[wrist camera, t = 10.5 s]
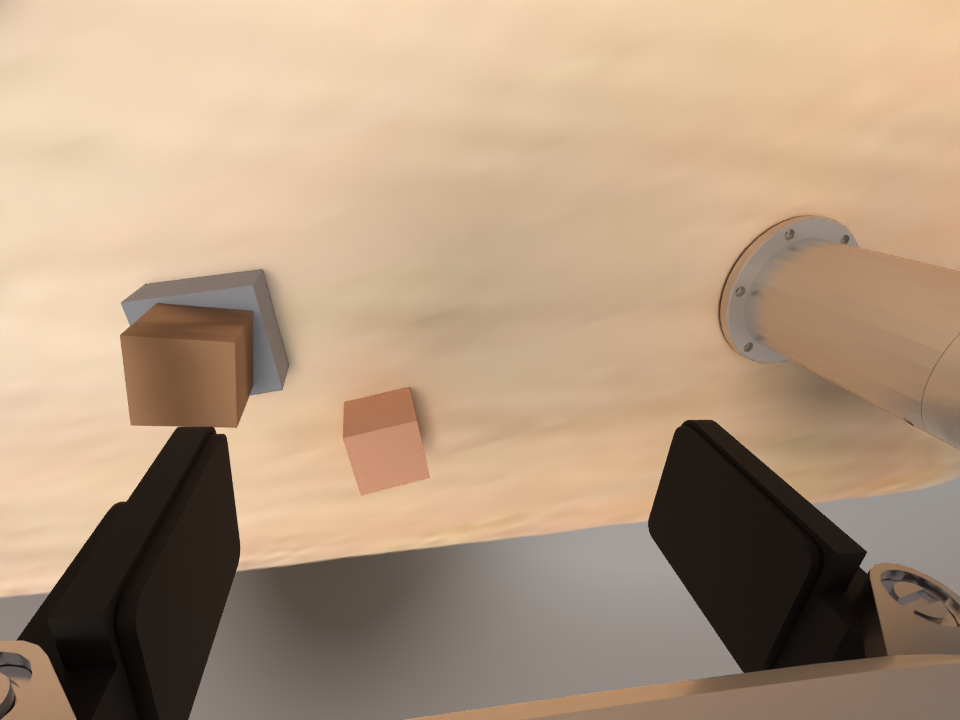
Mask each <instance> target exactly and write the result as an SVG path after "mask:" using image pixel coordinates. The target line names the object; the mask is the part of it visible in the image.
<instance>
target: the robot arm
mask: <svg viewBox="0 0 960 720" xmlns="http://www.w3.org/2000/svg"><path fill="white" fill-rule="evenodd" d="M720 320H721V325H722V331H723V333H724V335H725V338H726V340H727V341H728V343H729V344H730V345H731V347H732V348H733V349H734V350H736V351H737V352H738V353H740V354H741V355H743V356H745V357H746V358H748V359H750V360H752V361H756V362H760V363H778V362H784V361H787V360H791V361H793V362H795V363H797V364H799V365H801V366H803V367H805V368H806V369H808V370H810V371H812V372H814V373H816V374H818V375H819V376H821V377H823V378H825V379H827V380H829V381H831V382H833V383H834V384H836V385H838V386H840V387H842V388H844V389H846V390H848V391H849V392H851V393H853V394H855V395H857V396H859V397H861V398H863V399H864V400H866V401H868V402H870V403H872V404H874V405H876V406H878V407H879V408H881V409H883V410H885V411H887V412H889V413H891V414H892V415H894V416H896V417H898V418H900V419H902V420H904V421H906V422H907V423H909V424H911V425H913V426H915V427H917V428H919V429H921V430H923V431H925V432H927V433H929V434H931V435H933V436H934V437H936V438H938V439H940V440H941V441H943V442H945V443H947V444H949V445H951V446H953V447H955V448H957V449H959V450H960V272H959V271H955V270H950V269H946V268H942V267H938V266H934V265H929V264H925V263H921V262H917V261H913V260H909V259H904V258H900V257H896V256H892V255H888V254H883V253H879V252H875V251H871V250H867V249H862V248H858V244H857V242H856V240H855V238H854V236H853V234H852V233H851V232H850V231H849V230H848V229H847V228H846V226H844V225H842V224H841V223H839V222H837V221H836V220H832V219H828V218H824V217H817V216H803V217H796V218H793V219H790V220H787V221H784V222H782V223H780V224H778V225H776V226H775V227H773V228H771V229H769V230H768V231H767V232H765V233H764V234H763V235H761V236H760V237H759V238H758V239H757V240H756V241H755V242H754V243H753V244H752V245H751V246H750V247H749V248H748V249H747V250H746V251H745V252H744V254H743V255H742V256H741V258H740V259H739V260H738V262H737V263H736V265H735V267H734V268H733V270H732V272H731V274H730V276H729V278H728V280H727V283H726V286H725V289H724V291H723V296H722V301H721V309H720ZM648 527H649V532H650V534H651V536H652V538H653V540H654V541H655V543H656V544H657V546H658V547H659V549H660V550H661V551H662V553H663V555H664V556H665V558H666V559H667V560H668V562H669V563H670V565H671V566H672V568H673V569H674V571H675V572H676V574H677V575H678V576H679V578H680V579H681V581H682V582H683V584H684V585H685V587H686V589H687V590H688V591H689V593H690V594H691V596H692V597H693V599H694V600H695V602H696V603H697V605H698V606H699V608H700V609H701V611H702V612H703V614H704V615H705V617H706V618H707V620H708V621H709V622H710V624H711V625H712V627H713V628H714V630H715V631H716V633H717V634H718V636H719V637H720V639H721V640H722V642H723V643H724V645H725V646H726V648H727V649H728V651H729V652H730V654H731V655H732V656H733V658H734V659H735V661H736V662H737V664H738V665H739V667H740V668H741V670H742V671H743V672H744V673H741V674H733V675H726V676H718V677H710V678H702V679H695V680H687V681H680V682H672V683H665V684H657V685H650V686H644V687H636V688H628V689H621V690H613V691H606V692H598V693H591V694H584V695H576V696H569V697H562V698H555V699H547V700H540V701H533V702H525V703H518V704H511V705H504V706H497V707H490V708H483V709H476V710H469V711H462V712H455V713H448V714H440V715H433V716H427V717H419V718H413V719H405V720H960V596H958V595H957V594H956V593H954V592H953V591H952V590H950V589H949V588H948V587H946V586H945V585H944V584H942V583H940V582H939V581H937V580H935V579H933V578H932V577H929V576H928V575H926V574H923V573H921V572H919V571H917V570H915V569H912V568H909V567H906V566H902V565H899V564H891V563H880V564H875V565H874V566H873V567H872V568H871V569H870V570H869V572H868V574H867V573H866V572H864V571H863V570H862V569H861V568H860V567H859V566H860V564H861V562H862V560H863V559H864V557H865V555H866V553H867V551H865V550H864V549H863V548H862V547H861V546H860V545H858V544H857V543H856V542H855V541H854V540H853V539H851V538H850V537H849V536H848V535H847V534H845V533H844V532H843V531H842V530H841V529H840V528H839V527H837V526H836V525H835V524H834V523H833V522H832V521H830V520H829V519H828V518H827V517H826V516H825V515H823V514H822V513H821V512H820V511H819V510H817V509H816V508H815V507H814V506H813V505H812V504H811V503H809V502H808V501H807V500H806V499H805V498H804V497H802V496H801V495H800V494H799V493H798V492H797V491H795V490H794V489H793V488H792V487H791V486H790V485H788V484H787V483H786V482H785V481H784V480H783V479H782V478H780V477H779V476H778V475H777V474H776V473H775V472H773V471H772V470H771V469H770V468H769V467H768V466H766V465H765V464H764V463H763V462H762V461H761V460H759V459H758V458H757V457H756V456H755V455H754V454H752V453H751V452H750V451H749V450H748V449H747V448H745V447H744V446H743V445H742V444H741V443H740V442H738V441H737V440H736V439H735V438H734V437H733V436H731V435H730V434H729V433H728V432H727V431H726V430H724V429H723V428H722V427H721V426H720V425H719V424H717V423H716V422H714V421H713V420H687V421H685V422H684V423H683V424H682V425H681V427H678V428H677V429H676V431H675V433H674V436H673V439H672V443H671V446H670V449H669V453H668V456H667V460H666V463H665V466H664V470H663V473H662V476H661V480H660V483H659V486H658V490H657V493H656V497H655V500H654V503H653V507H652V510H651V513H650V517H649V521H648ZM239 557H240V539H239V531H238V523H237V515H236V507H235V499H234V491H233V483H232V475H231V467H230V458H229V450H228V442H227V438H226V435H225V434H216V431H215V429H214V427H212V426H210V427H178V428H177V429H176V430H175V431H174V433H173V434H172V435H171V437H170V438H169V440H168V441H167V443H166V444H165V446H164V447H163V449H162V450H161V452H160V453H159V455H158V456H157V458H156V459H155V461H154V462H153V464H152V465H151V466H150V468H149V469H148V471H147V472H146V474H145V475H144V477H143V478H142V480H141V481H140V483H139V484H138V486H137V487H136V489H135V490H134V492H133V493H132V495H131V496H130V497H129V499H128V500H127V502H119V503H117V504H114V505H113V506H112V507H111V509H110V510H109V511H108V512H107V513H106V515H105V516H104V518H103V519H102V520H101V522H100V523H99V525H98V526H97V528H96V529H95V530H94V532H93V533H92V535H91V536H90V537H89V539H88V540H87V542H86V543H85V544H84V546H83V547H82V549H81V550H80V551H79V553H78V554H77V556H76V557H75V559H74V560H73V561H72V563H71V564H70V566H69V567H68V568H67V570H66V571H65V573H64V574H63V575H62V577H61V578H60V580H59V581H58V583H57V584H56V585H55V587H54V588H53V590H52V591H51V592H50V594H49V595H48V597H47V598H46V600H45V601H44V603H43V604H42V605H41V606H40V608H39V609H38V611H37V612H36V614H35V615H34V616H33V618H32V619H31V621H30V622H29V623H28V625H27V626H26V628H25V629H24V630H23V632H22V633H21V635H20V636H19V638H18V639H17V640H16V641H1V642H0V720H188V719H189V716H190V713H191V710H192V706H193V703H194V700H195V697H196V694H197V691H198V688H199V685H200V681H201V678H202V675H203V672H204V669H205V666H206V663H207V660H208V656H209V653H210V650H211V647H212V644H213V641H214V638H215V635H216V632H217V629H218V625H219V622H220V619H221V616H222V613H223V610H224V607H225V603H226V601H227V597H228V594H229V591H230V588H231V585H232V582H233V578H234V576H235V573H236V569H237V566H238V563H239Z"/></svg>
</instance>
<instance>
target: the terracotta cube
mask: <svg viewBox="0 0 960 720" xmlns="http://www.w3.org/2000/svg"><path fill="white" fill-rule="evenodd" d="M343 440H344V443H345V446H346V449H347V453H348V456H349V459H350V462H351V465H352V468H353V472H354V475H355V478H356V481H357V484H358V487H359V491H360V494H361V495H365V494H369V493H373V492H377V491H380V490H384V489H388V488H392V487H396V486H400V485H404V484H408V483H412V482H415V481H419V480H423V479H427V478H430V476H429V471H428V467H427V462H426V458H425V453H424V448H423V444H422V439H421V435H420V431H419V426H418V422H417V417H416V413H415V409H414V404H413V400H412V396H411V391H410V387H408V388H404V389H400V390H395V391H391V392H387V393H382V394H378V395H374V396H369V397H365V398H360V399H356V400H352V401H347V402H344V424H343Z"/></svg>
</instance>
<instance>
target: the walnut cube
mask: <svg viewBox="0 0 960 720" xmlns="http://www.w3.org/2000/svg"><path fill="white" fill-rule="evenodd" d="M120 339H121V348H122V356H123V364H124V373H125V381H126V389H127V398H128V406H129V414H130V423H131V425H138V426H184V427H210V426H212V427H230V428H237V426H238V423H239V421H240V418H241V416H242V413H243V411H244V408H245V406H246V403H247V401H248V398H249V396H250V393H251V390H252V388H253V311H251V310H238V309H226V308H214V307H201V306H189V305H176V304H164V303H156V304H155V305H154V306H153V307H152V308H151V309H149V310H148V311H147V312H146V313H145V314H144V315H143V316H141V317H140V318H139V319H138V320H137V321H136V322H135V323H133V324H132V325H131V326H130V327H129V328H128V329H127V330H125V331H124V332H123V333H122V334H121V335H120Z"/></svg>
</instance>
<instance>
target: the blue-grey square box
mask: <svg viewBox="0 0 960 720" xmlns="http://www.w3.org/2000/svg"><path fill="white" fill-rule="evenodd" d="M156 303H164V304H176V305H189V306H201V307H214V308H226V309H238V310H251V311H253V388H252V390H251V393H250V395H255V394H261V393H267V392H273V391H279V390H283V386H284V382H285V378H286V375H287V371H288V367H289V363H288V360H287V356H286V352H285V349H284V345H283V341H282V338H281V334H280V330H279V327H278V323H277V319H276V316H275V312H274V308H273V305H272V301H271V297H270V294H269V290H268V286H267V283H266V279H265V275H264V272H263V269H260V270H252V271H244V272H236V273H229V274H221V275H213V276H205V277H197V278H189V279H181V280H173V281H166V282H158V283H150V284H145V285H143V286H142V287H141V288H140V289H138V290H137V291H136V292H134V293H133V294H132V295H130V296H129V297H128V298H126V299H125V300H124V301H122V302H121V305H122V307H123V309H124V312H125V314H126V317H127V319H128V322H129V324H130V326H131V325H132V324H133V323H135V322H136V321H137V320H138V319H139V318H140V317H141V316H143V315H144V314H145V313H146V312H147V311H148V310H149V309H151V308H152V307H153V306H154V305H155V304H156Z"/></svg>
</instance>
